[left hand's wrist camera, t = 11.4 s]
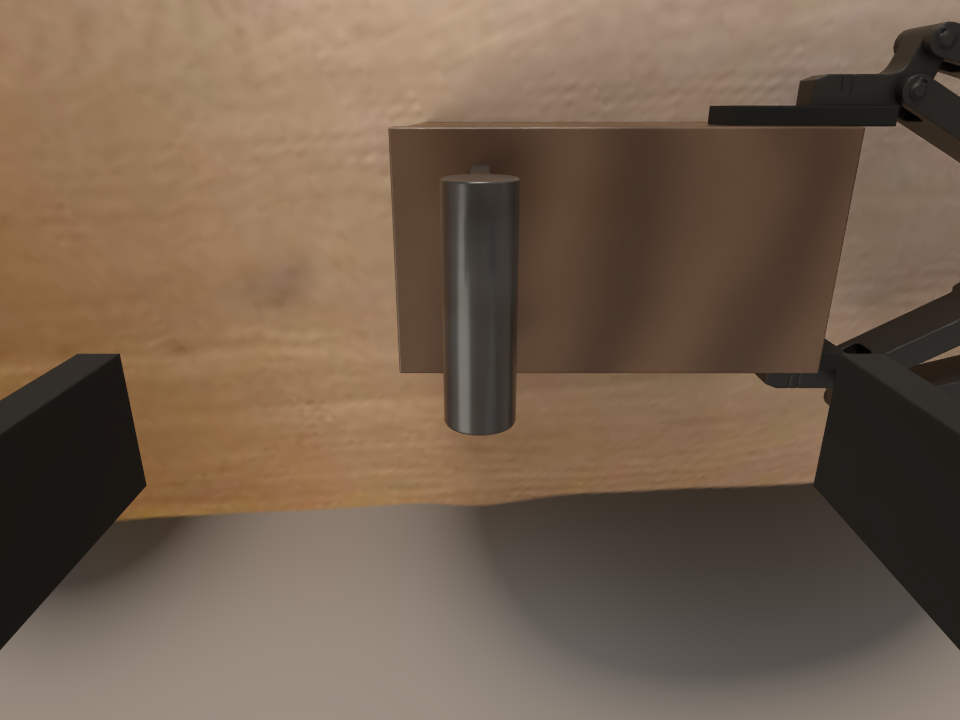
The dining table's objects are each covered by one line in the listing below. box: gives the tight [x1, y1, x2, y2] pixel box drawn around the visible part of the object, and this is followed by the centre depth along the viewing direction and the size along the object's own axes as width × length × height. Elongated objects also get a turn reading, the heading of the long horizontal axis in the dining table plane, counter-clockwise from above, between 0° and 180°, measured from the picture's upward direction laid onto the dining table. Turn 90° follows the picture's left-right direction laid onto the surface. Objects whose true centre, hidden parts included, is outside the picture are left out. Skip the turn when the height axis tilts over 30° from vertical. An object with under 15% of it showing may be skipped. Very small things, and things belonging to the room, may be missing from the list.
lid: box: [388, 126, 865, 436], centre depth 23 cm, size 17×10×9 cm, turn 90°
